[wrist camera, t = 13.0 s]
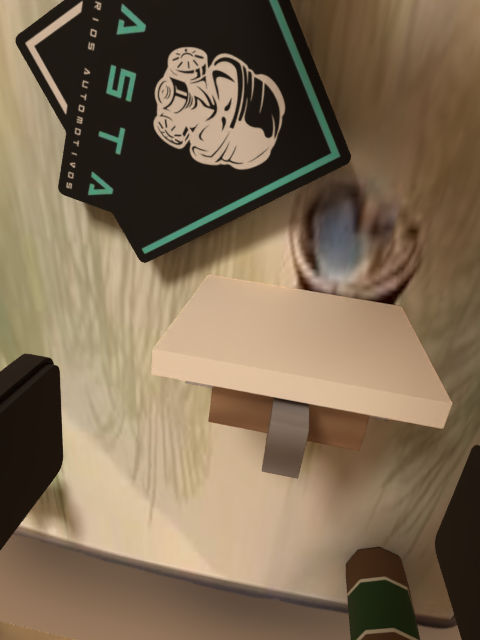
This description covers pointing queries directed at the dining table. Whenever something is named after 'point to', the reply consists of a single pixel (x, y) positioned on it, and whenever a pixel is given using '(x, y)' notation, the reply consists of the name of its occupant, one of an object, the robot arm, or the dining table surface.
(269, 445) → the walnut cabinet
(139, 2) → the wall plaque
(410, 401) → the wall board
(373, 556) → the beer bottle
